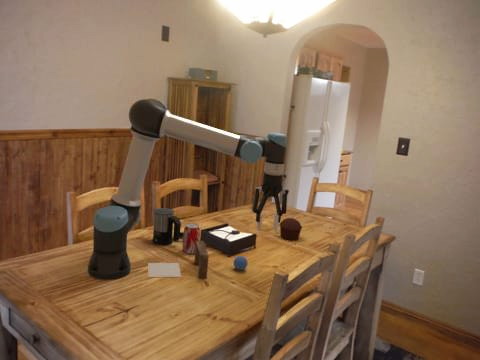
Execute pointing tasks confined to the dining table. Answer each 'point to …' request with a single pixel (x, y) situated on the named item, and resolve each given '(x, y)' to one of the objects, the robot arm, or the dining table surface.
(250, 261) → the dining table surface
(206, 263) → the bridge
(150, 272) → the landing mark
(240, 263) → the ball
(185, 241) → the soda can
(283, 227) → the muffin
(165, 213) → the milk frother
